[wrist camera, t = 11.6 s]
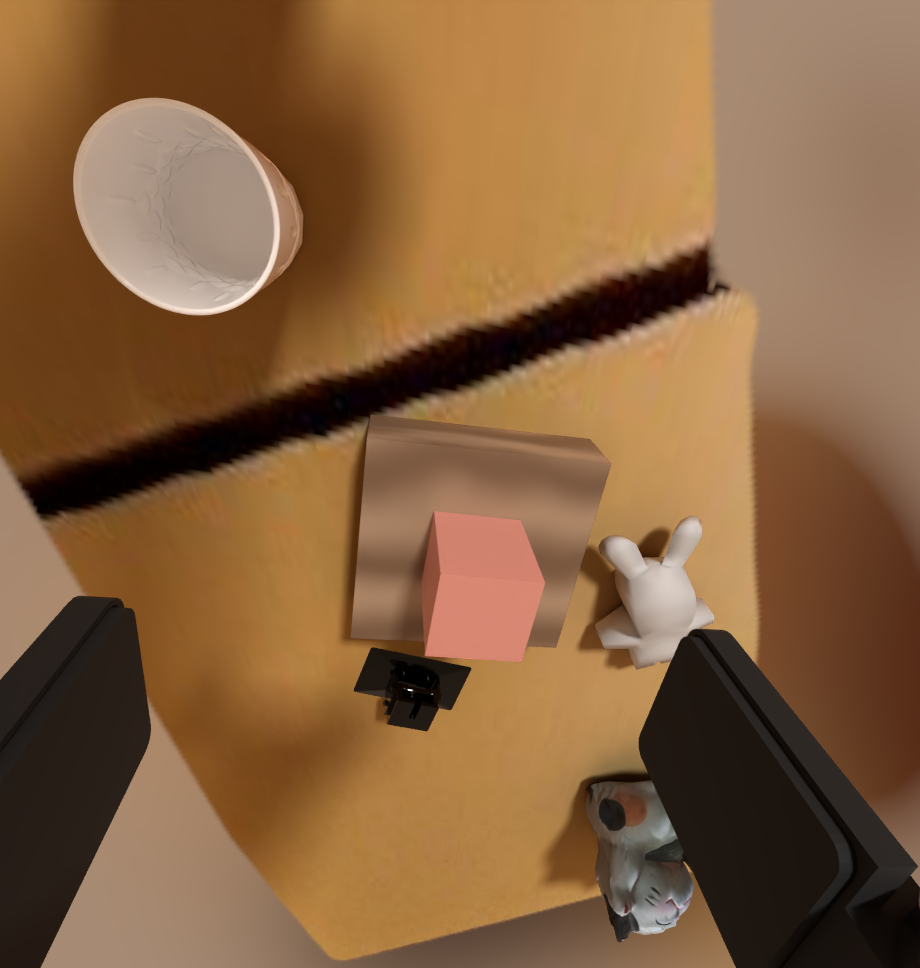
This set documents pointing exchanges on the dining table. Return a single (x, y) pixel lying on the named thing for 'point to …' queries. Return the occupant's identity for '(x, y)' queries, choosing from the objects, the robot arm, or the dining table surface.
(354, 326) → the dining table surface
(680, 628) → the bunny figurine
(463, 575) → the red block
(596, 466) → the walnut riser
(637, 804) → the lucky cat figurine
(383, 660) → the black boxy gadget
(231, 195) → the white cup
